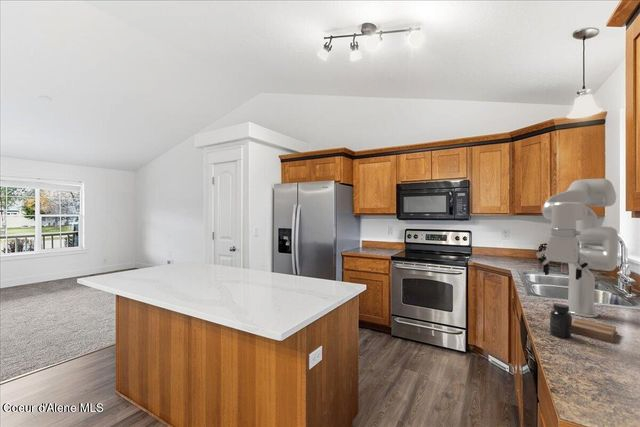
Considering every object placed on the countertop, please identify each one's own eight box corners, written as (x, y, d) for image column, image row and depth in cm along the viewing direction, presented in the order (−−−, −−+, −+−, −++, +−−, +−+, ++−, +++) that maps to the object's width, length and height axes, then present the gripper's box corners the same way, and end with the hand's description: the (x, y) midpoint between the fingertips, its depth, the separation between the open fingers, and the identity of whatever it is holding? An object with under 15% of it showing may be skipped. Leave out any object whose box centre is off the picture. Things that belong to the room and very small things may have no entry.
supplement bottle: (575, 339, 115) (576, 308, 115) (555, 338, 116) (556, 307, 116) (564, 332, 122) (565, 303, 122) (545, 331, 123) (546, 302, 123)
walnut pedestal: (575, 324, 131) (575, 317, 130) (617, 334, 121) (617, 327, 121) (568, 332, 122) (569, 324, 122) (613, 343, 112) (613, 335, 112)
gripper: (594, 234, 114) (592, 279, 114) (539, 231, 127) (538, 271, 127) (590, 235, 109) (589, 282, 109) (534, 232, 122) (532, 274, 122)
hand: (561, 276), depth 118 cm, fingers open, 9 cm apart
